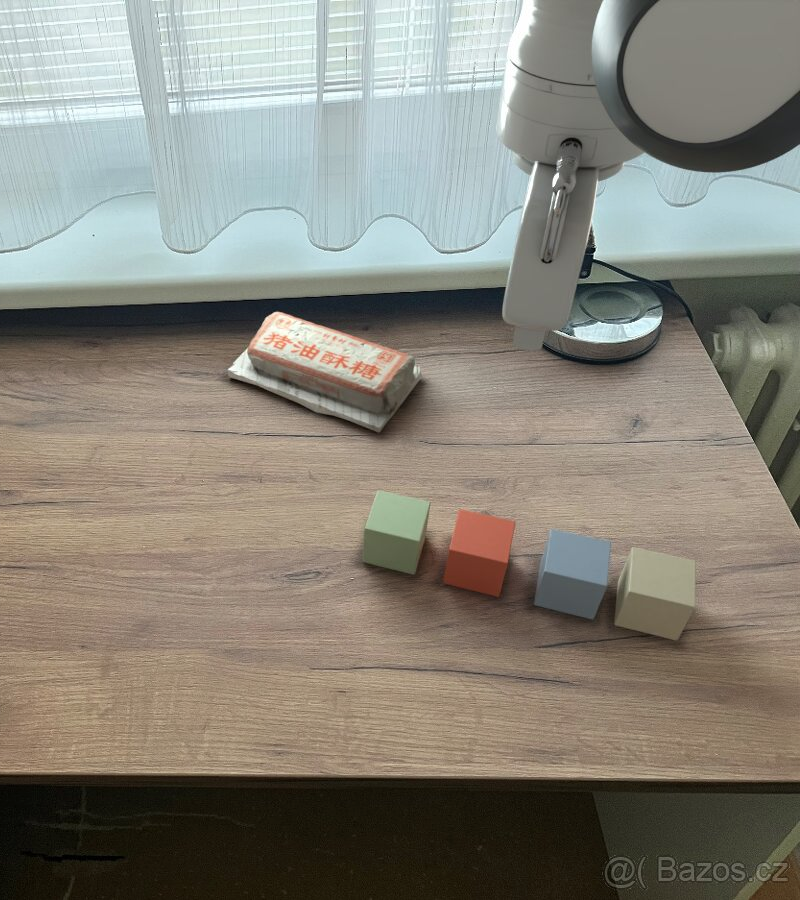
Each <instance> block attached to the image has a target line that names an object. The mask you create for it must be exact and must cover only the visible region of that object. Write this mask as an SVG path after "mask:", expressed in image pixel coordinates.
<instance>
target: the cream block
mask: <svg viewBox="0 0 800 900" xmlns="http://www.w3.org/2000/svg"><path fill="white" fill-rule="evenodd" d="M696 575H697V561H696V560H693V559H691V558H686V557H680V556H676V555H672V554H667V553H663V552H658V551H654V550H649V549H644V548H641V547H637V546H636V547H635V546H632V547H631V548H630V551H629V554H628V555H627V558H626V560H625V563H624V565H623V568H622V570H621V573H620V575H619V578H618V580H617V586H616V587H617V588H616V599H615V610H614V612H615V613H614V621H613V622H614V623H613V624H614V626H616V627H620V628H623V629H628V630H633V631H637V632H640V633H643V634H644V633H645V634H647V635H652V636H656V637H661V638H664V639H668V640H673V641H678V640H679V639H680V636H681V635H682V633H683V631H684V629H685V627H686V625H687V624H688V622H689V620H690V618H691V616H692V614H693V612H694V610H695V609H696V593H697V592H696V591H697V588H696V586H697V576H696Z"/></svg>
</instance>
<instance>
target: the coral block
mask: <svg viewBox="0 0 800 900" xmlns="http://www.w3.org/2000/svg"><path fill="white" fill-rule="evenodd" d="M515 529H516V521H515V520H511V519H506V518H502V517H497V516H493V515H488V514H484V513H480V512H476V511H470V510H465V509H461V508H460V509H458V512H457V516H456V520H455V524H454V527H453V532H452V535H451V540H450V544H449V548H448V553H447V558H446V563H445V568H444V574H443V580H442V583H443V584H445V585H449V586H453V587H456V588H460V589H466V590H469V591H473V592H476V593H477V592H478V593H482V594H484V595H489V596H493V597H497V598H499V597H500V596H501V591H502V587H503V584H504V579H505V576H506V572H507V567H508V566H509V565H508V564H509V561H510V555H511V549H512V544H513V539H514V533H515Z"/></svg>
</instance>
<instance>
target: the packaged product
mask: <svg viewBox="0 0 800 900" xmlns="http://www.w3.org/2000/svg"><path fill="white" fill-rule="evenodd" d="M415 361H416V358H415V357H414V356H413V355H411V354H407V353H404V352H401V351H399V350H396V349H394V348H390V347H387V346H384V345H381V344H379V343H374V342H372V341H368V340H366V339H363V338H360V337H357V336H354V335H351V334H348V333H344V332H341V331H339V330H336V329H333V328H329V327H327V326H323V325H320V324H316V323H314V322H312V321H307V320H305V319H303V318H299V317H296V316H293V315H291V314H287V313H284V312H280V311H274V312H272V313H271V314H269V315H268V316H266V317H265V318H264V321H262V324H261V326H260V327H259V329H258V330H257V332H256V334H255V335H254V337H252V338H251V341H250V342H249V346H248V347H247V348H246V349H244V351H243V352H242V353H241V354H240V355H239V356H238V357H237V358H236V359H235V361H233V362H232V365H231V366H230V367H229V368H228V369H226V372H227V375H228V378H231V379H234V380H238V381H242V382H244V383H247V384H252V385H254V386H258V387H260V388H262V389H264V390H267V391H269V392H271V393H273V394H276V395H278V396H281V397H283V398H284V399H288V400H290V401H292V402H295V403H297V404H300V405H301V406H303V407H305V408H306V409H309V410H311V411H313V412H314V413H317V414H323V415H329V416H334V417H338V418H339V419H343V420H346V421H349V422H352V423H354V424H356V425H359V426H361V427H364V428H367V429H369V430H371V431H373V432H376V433H380V432H381V431H382V430H383V429H384V427H385V426H386V425H387V424H388V422H389V421H390V419H392V417H393V416H394V415H395V413H396V412H397V410H398V409H399V408H400V406H402V404H403V403H404V402H405V400H406V399H407V398H408V396H409V394H410V393H411V392H412V391H413V389H414V388H415V387H416V385H418V383H419V381H420V380H421V378H422V377H423V375H422V371H421V368H420V365H416V362H415Z"/></svg>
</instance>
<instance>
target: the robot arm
mask: <svg viewBox="0 0 800 900" xmlns="http://www.w3.org/2000/svg"><path fill="white" fill-rule="evenodd" d="M506 52H507V53H506V59H505V67H504V73H503V74H504V75H503V79H502V86H501V92H500V99H499V105H498V111H497V118H496V123H495V132H496V135H497V138H498V140H499V141H500V142H501V144H502V145H503V146H505V147H506V149H509V150H510V151H511V152H512V159H513V162H514V164H515V165H516V166H517V168H519V169H520V170H521V171H522V172H524V173H525V174H527V175H529V178H528V183H527V188H526V192H525V195H524V199H523V204H522V207H521V211H520V215H519V221H518V225H517V230H516V236H515V241H514V245H513V249H512V255H511V261H510V266H509V271H508V276H507V282H506V286H505V290H504V295H503V300H502V301H503V302H502V308H501V309H502V310H501V315H502V320H503V321H504V322H505V323H506V324H508V325H510V326H515V330H514V335H513V340H512V345H513V347H514V348H516V349H517V350H521V351H528V352H539V351H540V350H541V349H542V348H543V344H544V341H545V336H546V334H547V333H546V332H547V331H550V332H552V331H553V332H557V331H561V330H562V329H563V328H564V327H565V326H566V324H567V322H568V320H569V317H570V314H571V311H572V307H573V303H574V299H575V295H576V291H577V286H578V284H579V283H578V282H579V279H580V275H581V270H582V267H583V262H584V258H585V254H586V250H587V246H588V242H589V237H590V231H591V227H592V223H593V218H594V217H593V216H594V211H595V205H596V198H597V192H598V184H599V182H602V181H606V180H608V179H610V178H612V177H614V176H616V175H617V174H618V173H620V171H621V170H622V169H623V167H624V165H625V163H626V162H629V161H632V160H634V159H636V158H639V157H640V156H642V155H644V154H647V155H648V156H650V157H652V158H653V159H655V160H657V161H659V162H661V163H664V164H666V165H669V166H672V167H675V168H678V169H682V170H686V171H692V172H698V173H711V174H712V173H713V174H717V173H718V174H719V173H732V172H737V171H738V172H739V171H743V170H747V169H751V168H755V167H758V166H761V165H763V164H767V163H769V162H771V161H773V160H777V159H778V158H780V157H783V156H784V155H785V154H788V153H789V152H791V151H793V150H794V149H795V148H797V147H798V146H800V0H522V5H521V10H520V14H519V17H518V21H517V23H516V26H515V27H514V29H513V32H512V34H511V36H510V39H509V43H508V48H507V51H506Z"/></svg>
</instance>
